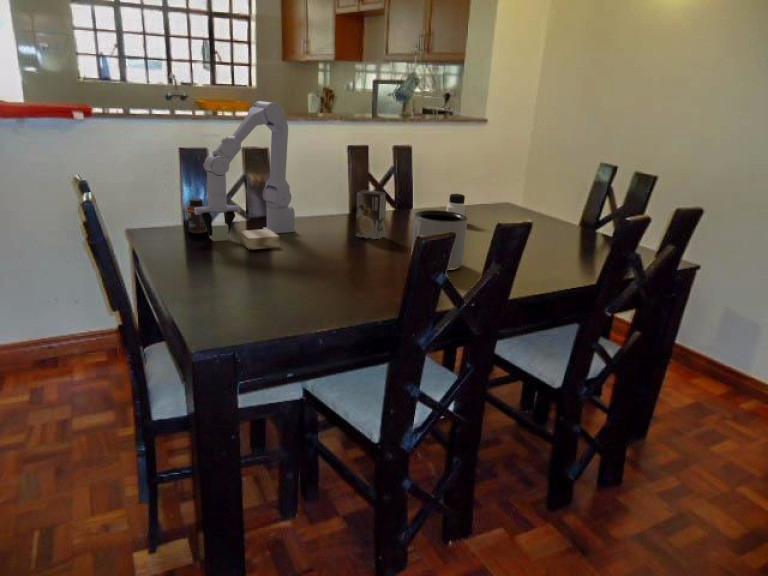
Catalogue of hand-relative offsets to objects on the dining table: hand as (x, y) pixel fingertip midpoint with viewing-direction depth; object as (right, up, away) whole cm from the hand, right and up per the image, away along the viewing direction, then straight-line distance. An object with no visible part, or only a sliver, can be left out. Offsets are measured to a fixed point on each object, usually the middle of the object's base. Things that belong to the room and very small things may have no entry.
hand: (218, 234), depth 186 cm
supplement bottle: (-9, +1, +7) cm, 12 cm away
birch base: (+14, -4, -3) cm, 15 cm away
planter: (+71, -11, -13) cm, 73 cm away
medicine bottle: (+84, +9, +45) cm, 95 cm away
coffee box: (+50, 0, +15) cm, 52 cm away
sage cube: (0, -1, 0) cm, 1 cm away
